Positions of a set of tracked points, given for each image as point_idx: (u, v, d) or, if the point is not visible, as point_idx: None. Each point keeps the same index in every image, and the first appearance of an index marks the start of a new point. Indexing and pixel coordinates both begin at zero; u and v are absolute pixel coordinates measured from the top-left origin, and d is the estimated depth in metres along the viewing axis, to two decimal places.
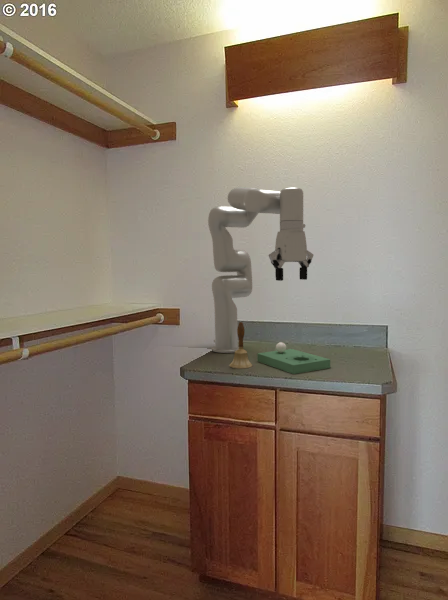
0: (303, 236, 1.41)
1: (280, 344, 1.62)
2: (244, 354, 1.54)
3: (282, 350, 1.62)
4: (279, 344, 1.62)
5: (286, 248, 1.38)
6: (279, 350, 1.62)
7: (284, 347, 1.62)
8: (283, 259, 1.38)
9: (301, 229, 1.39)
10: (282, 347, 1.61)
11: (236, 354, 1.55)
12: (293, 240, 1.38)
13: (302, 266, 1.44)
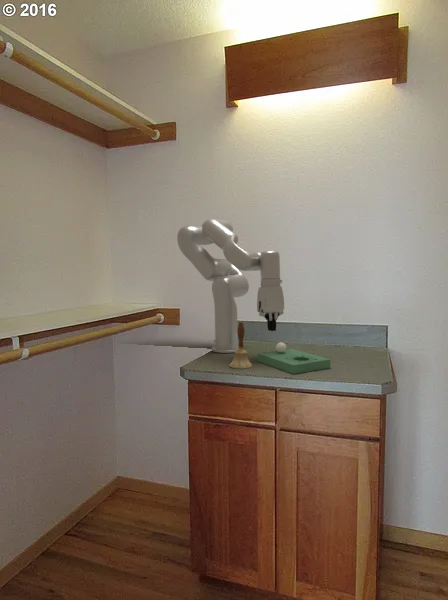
0: (280, 290, 1.67)
1: (280, 344, 1.62)
2: (244, 354, 1.54)
3: (282, 350, 1.62)
4: (279, 344, 1.62)
5: (266, 302, 1.64)
6: (279, 350, 1.62)
7: (284, 347, 1.62)
8: (264, 311, 1.64)
9: (278, 285, 1.65)
10: (282, 347, 1.61)
11: (236, 354, 1.55)
12: (271, 294, 1.65)
13: (272, 317, 1.69)
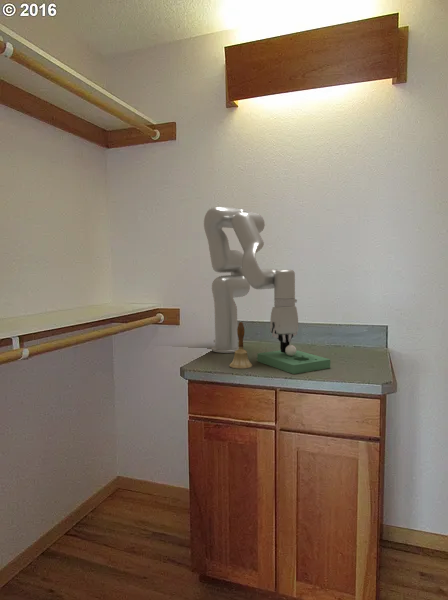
0: (295, 311, 1.60)
1: None
2: (244, 354, 1.54)
3: None
4: (287, 354, 1.58)
5: (280, 323, 1.57)
6: (285, 349, 1.58)
7: None
8: (277, 332, 1.57)
9: (293, 306, 1.58)
10: None
11: (236, 354, 1.55)
12: (285, 315, 1.57)
13: None
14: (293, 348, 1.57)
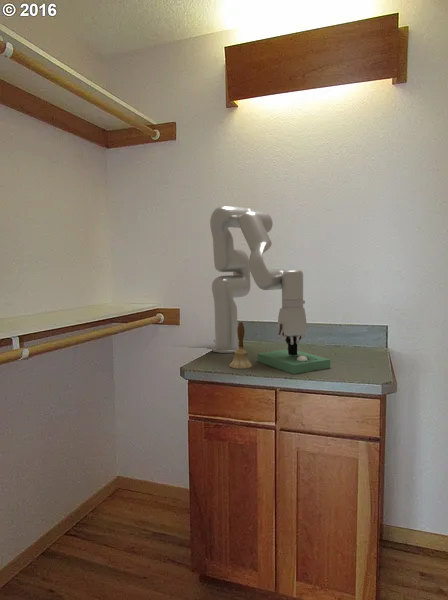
0: (303, 312, 1.56)
1: (302, 359, 1.51)
2: (244, 354, 1.54)
3: None
4: (301, 358, 1.51)
5: (287, 325, 1.53)
6: None
7: None
8: (285, 334, 1.53)
9: (301, 307, 1.53)
10: None
11: (236, 354, 1.55)
12: (293, 317, 1.53)
13: (293, 340, 1.57)
14: None
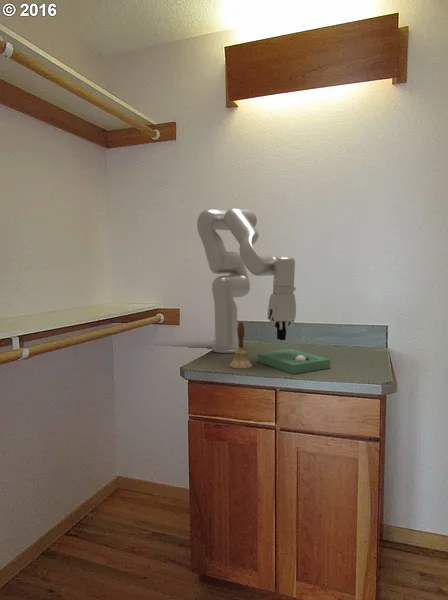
0: (293, 299, 1.60)
1: (300, 357, 1.52)
2: (244, 354, 1.54)
3: None
4: (299, 356, 1.52)
5: (277, 311, 1.57)
6: None
7: (304, 360, 1.52)
8: (274, 320, 1.58)
9: (291, 294, 1.58)
10: (301, 360, 1.51)
11: (236, 354, 1.55)
12: (283, 303, 1.58)
13: (282, 325, 1.62)
14: None
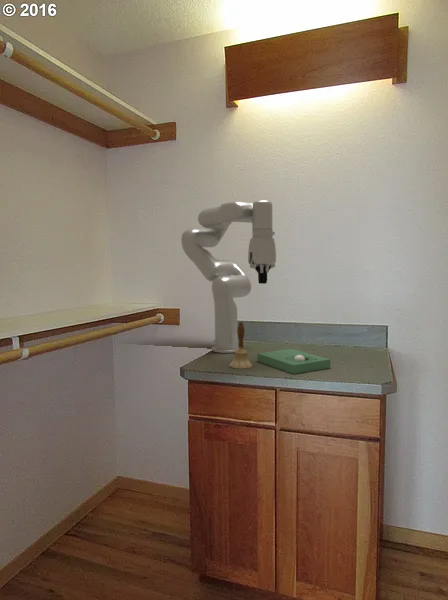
0: (272, 242, 1.63)
1: (298, 356, 1.53)
2: (244, 354, 1.54)
3: None
4: (297, 356, 1.53)
5: (257, 253, 1.60)
6: None
7: (302, 358, 1.52)
8: (254, 262, 1.60)
9: (270, 236, 1.61)
10: (300, 358, 1.52)
11: (236, 354, 1.55)
12: (263, 245, 1.61)
13: (263, 270, 1.65)
14: None
